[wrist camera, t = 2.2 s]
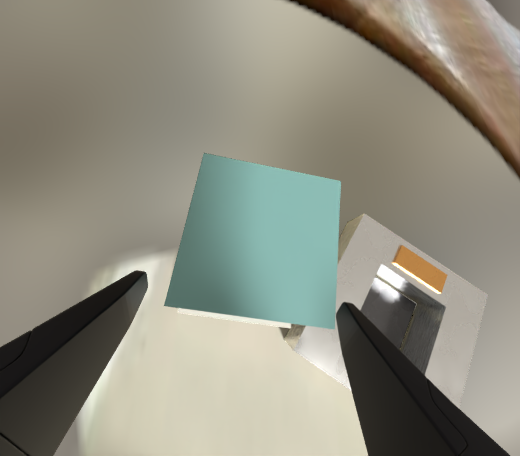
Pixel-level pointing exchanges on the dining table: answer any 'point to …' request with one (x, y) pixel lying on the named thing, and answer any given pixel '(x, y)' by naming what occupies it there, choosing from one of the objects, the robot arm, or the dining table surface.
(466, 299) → the hole plate
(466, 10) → the dining table surface
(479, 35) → the dining table surface
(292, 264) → the teal square peg
